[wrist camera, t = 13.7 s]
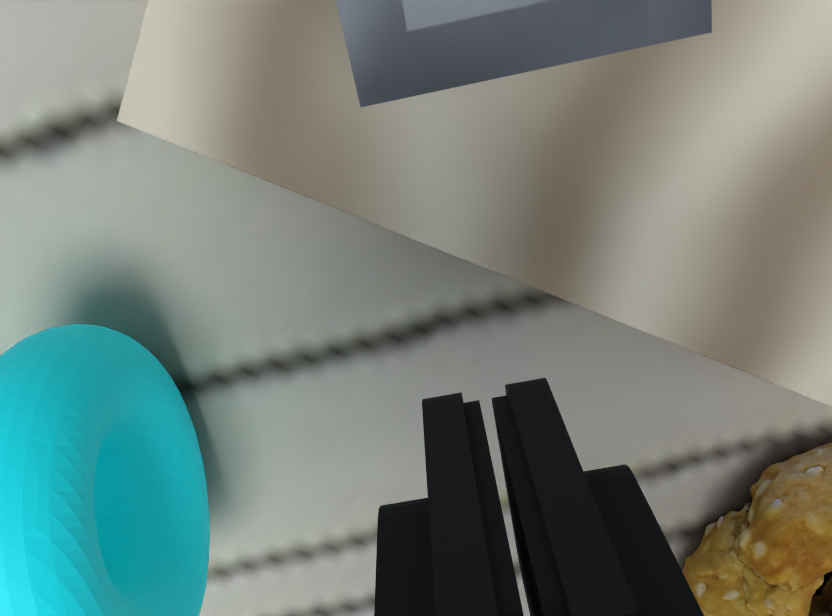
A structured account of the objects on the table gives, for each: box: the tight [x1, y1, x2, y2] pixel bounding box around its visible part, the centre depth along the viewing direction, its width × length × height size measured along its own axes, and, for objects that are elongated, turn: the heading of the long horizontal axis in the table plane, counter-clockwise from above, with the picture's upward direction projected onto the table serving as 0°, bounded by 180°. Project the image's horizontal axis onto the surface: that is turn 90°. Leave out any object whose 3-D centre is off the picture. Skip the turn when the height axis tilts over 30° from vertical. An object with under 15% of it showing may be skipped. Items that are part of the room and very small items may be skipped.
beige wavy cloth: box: [117, 0, 832, 407], centre depth 18 cm, size 24×16×2 cm, turn 67°
